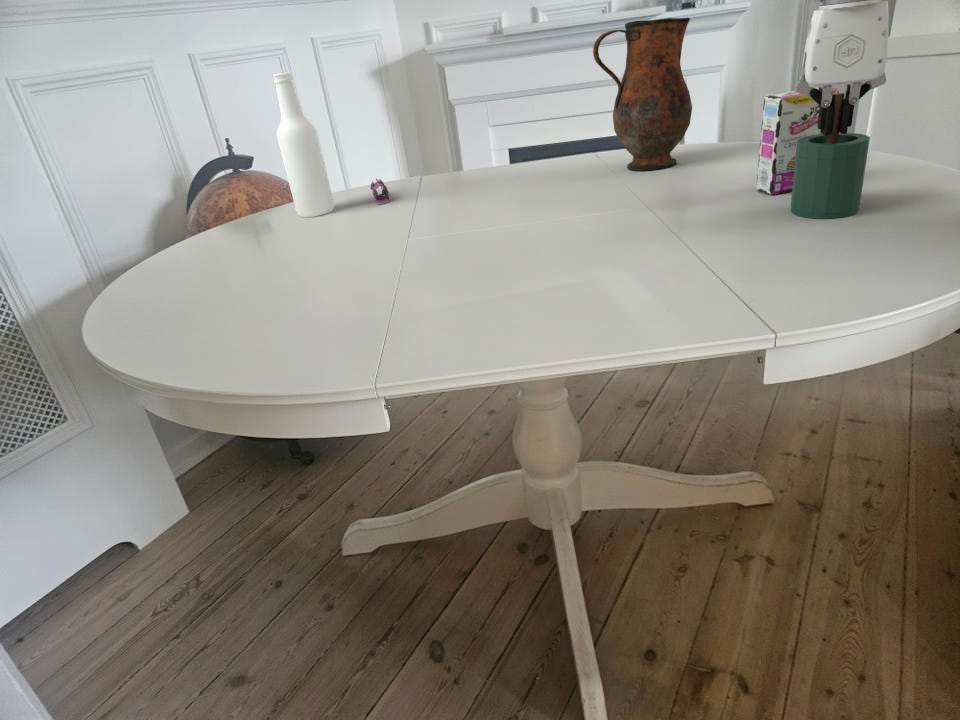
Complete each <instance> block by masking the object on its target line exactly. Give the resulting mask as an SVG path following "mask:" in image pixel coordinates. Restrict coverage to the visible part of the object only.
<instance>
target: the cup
mask: <svg viewBox="0 0 960 720" xmlns="http://www.w3.org/2000/svg"><path fill="white" fill-rule="evenodd" d="M870 139H871V136H869V135H867V134H863V133H858V132H857V133H856V132H847V134H842V133H840V132H839V139H838V143H834V144H826V140H827V135H823V134H818V135H812V136H807V137H804V138H800V139H799V140H798V141H797V148H796V158H795V168H794V178H793V188H792V191H791V199H790V212H791V213H792V214H793V215H795V216H798V217H801V218H807V219H815V220H816V219H817V220H818V219H819V220H830V219H831V220H832V219H840V218H841V219H842V218H847V217H850V216H853V215H855V214H857V213H858V212H859V210H860V209H859V208H860V205H861V200H862V193H863V187H864V181H865V180H864V179H865V173H866V167H867V160H868V159H867V158H868V153H869V146H870Z"/></svg>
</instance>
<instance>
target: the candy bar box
mask: <svg viewBox="0 0 960 720" xmlns="http://www.w3.org/2000/svg"><path fill="white" fill-rule="evenodd" d="M815 88H816V89H818V86H816V87H815ZM834 93H840V88H836V87H832V92H831V99H832V94H834ZM819 107H820V106H819V105H818V104H817V103H816V102H815V101H814V100H813V99H812V98H811V97H810V96H806V95H803V94H799V93H797V92H795V90H791V91H786V92H779V93H771V94H766V95H764V97H763V108H762V119H761V130H760V131H761V132H760V142H759V153H758V162H757V163H758V164H757V175H756V184H755V185H756V187H755V190H756V191H758V192H760V193H764V194H766V195H770V196H773V195H778V194H784V193H788V192H789V193H790V192H792V188H793V178H794V168H795V158H796V148H797V141H798V140H799V139H800V138H804V137H807V136H812V135H818V134H822V133H821V132H820V130H821V129H818V127H817V125H818V116H819Z"/></svg>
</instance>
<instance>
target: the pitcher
mask: <svg viewBox="0 0 960 720" xmlns="http://www.w3.org/2000/svg"><path fill="white" fill-rule="evenodd" d="M690 21H691V18H689V17H667V18H658V19H651V20H650V19H648V20H634V21H628V22H626V23H625V24H624V27H625V29H613V30H609V31H605V32H603V33H601V34H600V35H599V37H598V38H596V40H595V42H594V44H593V48H592V49H593V50H592V53H593V59H594V61H595V62H596V65H598V66H599V67H600V68H601V69H602V70H603V71H604V72H605V73H606V74H607V75H609V77H611V78H612V79H613V81H614V82H615V83H616V85H617V94H616V97H615V100H614V105H613V110H612V122H613V131H614V133H615V135H616V137H617V138H618V140H619V143H620V145H622V146H623V148H624V149H625V150H626V151H627V152H628V153H629V154H630V155H631V156H632V160H631V162H629V163H628V164H627V165H626V168H627V169H628V170H630V171H633V172H648V171H650V172H651V171H658V170H664V169H668V168H672V167H674V166H676V165H677V162H678V161H677V159H676V158H674V157H672V155H671V153H672V151H673V150H674V149H675V148H676V147H677V146H678V145H679V143H680V142H681V141H682V140H683V139H684V136H685V134H686V133H687V131H688V129H689V127H690V126H691V120H692V112H693V103H692V100H691V98H692V97H691V94H690V90H689V88H688V85H687V83H686V80H685V78H684V75H683V71H682V66H681V65H682V64H681V58H682V51H683V50H682V49H683V44H684V38H685V34H686V30H687V27H688V26H689V22H690ZM615 33H624V36H625V41H626V58H625V67H624V71H623V75H622V78H621V80H620V78H619V77H618V76H617V75H616V74H615V73H614V72H613V71H612V70H611V69H610V68H609V67H608V66H607V65H605V63H604V62H603V61H602V60H601V57H600V53H599V49H600V48H599V47H600V45H601V42H602V41H603V40H604V39H605V38H606V37H608V36H610V35H612V34H615Z"/></svg>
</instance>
